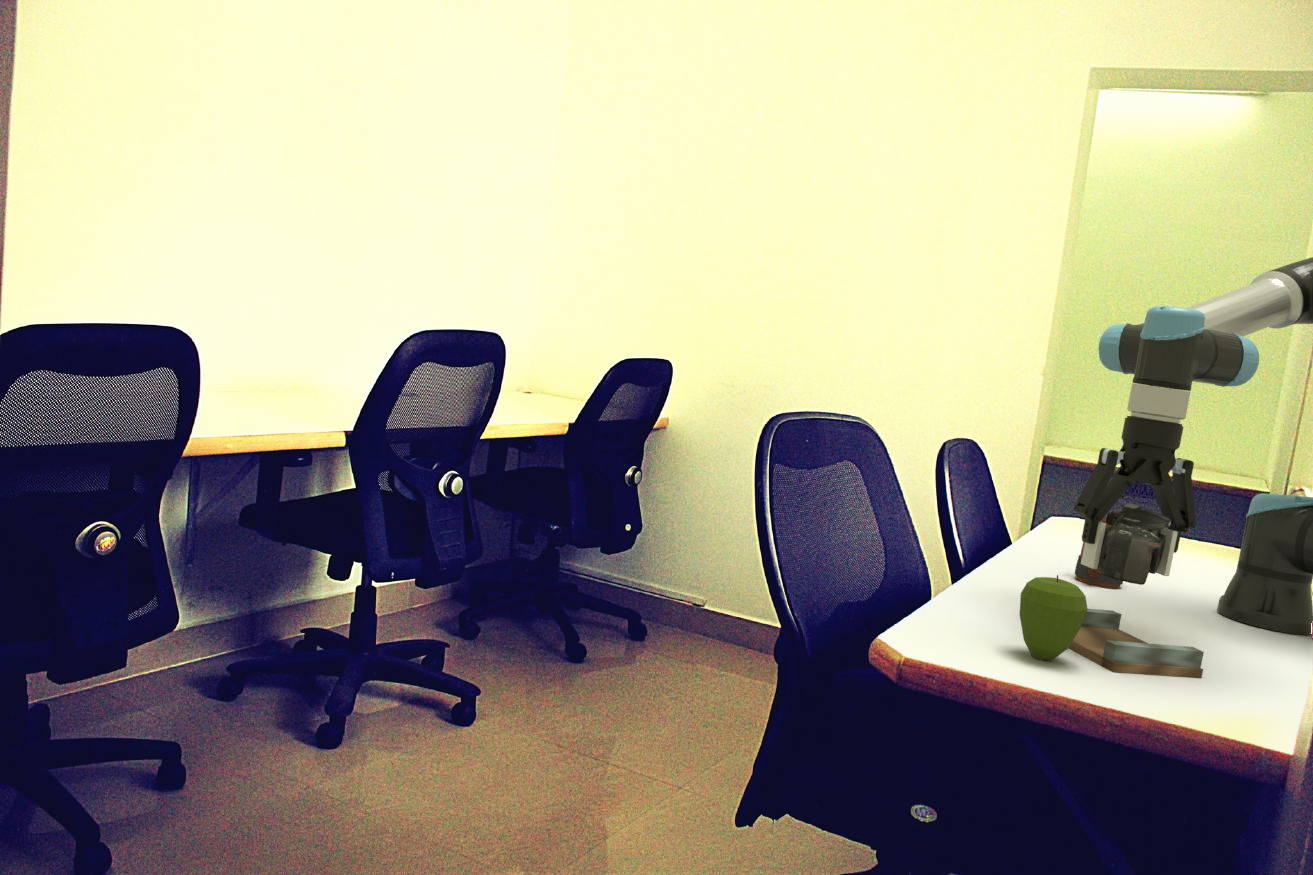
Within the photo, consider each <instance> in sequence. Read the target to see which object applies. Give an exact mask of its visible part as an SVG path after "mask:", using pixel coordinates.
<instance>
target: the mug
mask: <svg viewBox="0 0 1313 875" xmlns="http://www.w3.org/2000/svg"><path fill="white" fill-rule="evenodd" d="M1100 522H1103V523H1106V519H1105V520H1103V519H1102V520H1101V521H1100ZM1110 527H1111V525H1109V524H1107V523H1106V527H1105V532H1106V530H1107V529H1108V528H1110ZM1105 532H1104V535H1105ZM1103 539H1104V538H1103ZM1084 544H1085V542H1083V541H1082V547H1081V550H1080V555H1078V557H1077V561H1076V564H1075V569H1074V575H1075V578H1076V580H1077V581H1080V582H1081V583H1084V584H1087V585H1090V586H1093V587H1099V588H1104V589H1119V588H1120V587H1121V585H1123V583H1124V581H1121V580H1117V579H1113V578H1110V577H1107V576H1104V575H1102V574H1101V573H1100V570H1098V568H1097V569H1092V568H1090V567H1087V566H1085V565H1082V564H1081V559H1082V554H1083V549H1084Z"/></svg>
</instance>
